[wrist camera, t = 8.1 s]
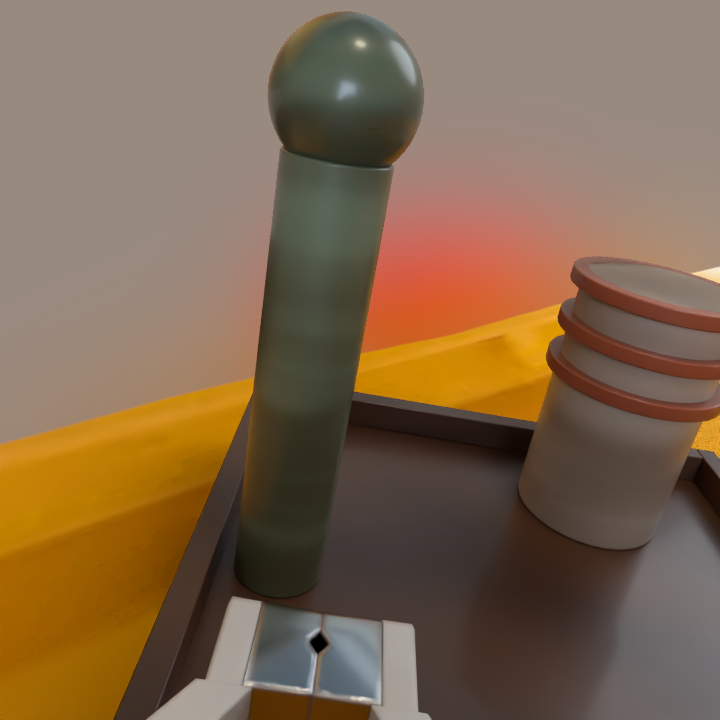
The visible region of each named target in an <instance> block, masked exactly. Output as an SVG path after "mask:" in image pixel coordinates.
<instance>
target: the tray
mask: <svg viewBox="0 0 720 720" xmlns="http://www.w3.org/2000/svg"><path fill="white" fill-rule="evenodd" d="M268 104H269V112H270V116H271V120H272V123H273V126H274V129H275V131H276V133H277V135H278V137H279V139H280V140H281V142H282V144H283V146H282V147H281V149H280V154H279V163H278V172H277V182H276V190H275V200H274V209H273V218H272V226H271V235H270V245H269V254H268V262H267V272H266V280H265V289H264V299H263V308H262V317H261V326H260V335H259V344H258V353H257V362H256V372H255V380H254V389H253V394H252V396H251V398H250V401H249V403H248V405H247V408H246V410H245V412H244V415H243V417H242V419H241V422H240V424H239V426H238V429H237V431H236V433H235V436H234V438H233V441H232V443H231V445H230V448H229V450H228V452H227V455H226V457H225V459H224V462H223V464H222V466H221V469H220V471H219V473H218V476H217V478H216V480H215V483H214V485H213V487H212V490H211V492H210V494H209V497H208V499H207V501H206V504H205V506H204V508H203V511H202V513H201V515H200V518H199V520H198V523H197V525H196V527H195V530H194V532H193V534H192V537H191V539H190V541H189V544H188V546H187V548H186V551H185V553H184V555H183V558H182V560H181V562H180V565H179V567H178V569H177V572H176V574H175V576H174V579H173V581H172V583H171V586H170V588H169V590H168V593H167V595H166V597H165V600H164V602H163V605H162V607H161V609H160V612H159V614H158V616H157V619H156V621H155V623H154V626H153V628H152V630H151V633H150V635H149V637H148V640H147V642H146V644H145V647H144V649H143V651H142V654H141V656H140V658H139V661H138V663H137V665H136V668H135V670H134V672H133V675H132V677H131V680H130V682H129V684H128V687H127V689H126V691H125V694H124V696H123V698H122V701H121V703H120V705H119V708H118V710H117V712H116V715H115V717H114V719H113V720H146V719H147V718H149V717H150V716H151V715H152V714H153V713H155V712H156V711H157V710H158V709H160V708H161V707H162V706H163V705H164V704H166V703H167V702H168V701H169V700H170V699H172V698H173V697H174V696H175V695H176V694H178V693H179V692H180V691H181V690H182V689H184V688H185V687H186V686H187V685H188V684H190V683H191V682H192V681H193V680H194V679H204V680H205V678H206V675H207V672H208V668H209V665H210V662H211V659H212V655H213V652H214V649H215V645H216V642H217V639H218V636H219V632H220V629H221V626H222V622H223V619H224V616H225V613H226V609H227V606H228V603H229V601H230V600H231V598H232V596H235V597H240V598H245V599H251V600H256V601H262V602H263V601H266V602H271V603H277V604H282V605H288V606H293V607H299V608H304V609H310V610H315V611H321V612H322V611H324V612H331V613H338V614H345V615H352V616H359V617H366V618H373V619H379V620H381V621H382V620H387V621H394V622H401V623H408V624H412V625H413V627H414V629H415V650H416V672H417V694H418V712H421V713H426V714H428V715H429V716H430V718H431V719H432V720H720V459H719V458H718V457H717V455H716V454H715V453H714V452H711V451H705V450H699V449H693V448H691V447H692V445H693V442H694V440H695V438H696V435H697V433H698V431H699V428H700V426H701V424H702V422H703V421H708V420H711V419H713V418H716V417H717V416H718V415H719V414H720V383H719V382H720V284H719V283H716V282H713V281H711V280H708V279H705V278H702V277H699V276H696V275H693V274H689V273H686V272H682V271H679V270H675V269H671V268H667V267H663V266H659V265H655V264H650V263H645V262H640V261H635V260H629V259H621V258H612V257H585V258H581V259H578V260H576V261H575V263H574V265H573V269H572V272H571V280H572V281H573V283H575V285H576V286H577V287H578V288H579V290H578V293H577V296H576V298H571V299H568V300H566V301H564V302H563V303H562V305H561V308H560V311H559V314H558V322H559V324H560V326H561V327H562V329H563V330H564V331H565V334H564V335H561V336H558V337H556V338H554V339H553V340H552V341H551V342H550V344H549V347H548V350H547V354H546V361H547V364H548V366H549V367H550V369H551V370H552V371H553V373H552V376H551V379H550V382H549V386H548V389H547V392H546V395H545V398H544V402H543V405H542V408H541V411H540V414H539V418H538V421H537V422H532V421H526V420H520V419H514V418H508V417H502V416H496V415H490V414H484V413H478V412H472V411H466V410H460V409H454V408H448V407H442V406H436V405H430V404H424V403H418V402H412V401H406V400H400V399H394V398H388V397H382V396H376V395H370V394H364V393H358V392H354V387H355V382H356V376H357V371H358V365H359V360H360V354H361V348H362V343H363V336H364V332H365V326H366V321H367V315H368V310H369V304H370V298H371V293H372V287H373V282H374V276H375V270H376V265H377V259H378V254H379V249H380V243H381V237H382V232H383V226H384V221H385V215H386V209H387V204H388V198H389V193H390V187H391V182H392V176H393V171H394V167H393V165H392V163H393V162H395V161H396V160H397V159H398V158H399V157H400V156H401V155H402V154H403V153H404V152H405V150H406V149H407V148H408V146H409V145H410V143H411V142H412V140H413V138H414V136H415V134H416V132H417V129H418V127H419V124H420V121H421V117H422V113H423V104H424V88H423V80H422V76H421V72H420V68H419V66H418V63H417V60H416V58H415V56H414V55H413V52H412V51H411V49H410V48H409V46H408V45H407V44H406V42H405V41H404V39H403V38H402V37H401V36H400V35H399V34H398V33H397V32H396V31H394V30H393V29H392V28H391V27H390V26H389V25H387V24H385V23H384V22H382V21H380V20H379V19H376V18H374V17H371V16H369V15H366V14H361V13H356V12H334V13H329V14H325V15H322V16H319V17H316V18H314V19H313V20H311V21H309V22H307V23H305V24H304V25H303V26H301V27H300V28H298V29H297V30H296V31H295V32H294V33H293V34H292V35H291V36H290V37H289V38H288V39H287V41H286V42H285V43H284V45H283V46H282V48H281V49H280V51H279V53H278V54H277V57H276V59H275V61H274V64H273V66H272V70H271V73H270V78H269V84H268Z"/></svg>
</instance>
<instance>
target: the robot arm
mask: <svg viewBox="0 0 720 720" xmlns="http://www.w3.org/2000/svg"><path fill="white" fill-rule="evenodd" d="M146 720H432V719H431V718H430V716H429V715H428V714H426V713H421V712H418V694H417V672H416V650H415V629H414V627H413V625H412V624H408V623H401V622H394V621H387V620H382V621H381V620H379V619H373V618H366V617H359V616H352V615H345V614H338V613H331V612H324V611H322V612H321V611H315V610H310V609H304V608H299V607H293V606H288V605H282V604H277V603H271V602H266V601H263V602H262V601H256V600H251V599H245V598H240V597H235V596H232V598H231V600H230V601H229V603H228V606H227V609H226V613H225V616H224V619H223V622H222V626H221V629H220V632H219V636H218V639H217V642H216V645H215V649H214V652H213V655H212V659H211V662H210V665H209V668H208V672H207V675H206V678H205V680H204V679H194V680H193V681H192V682H191V683H190V684H188V685H187V686H186V687H185V688H184V689H182V690H181V691H180V692H179V693H178V694H176V695H175V696H174V697H173V698H172V699H170V700H169V701H168V702H167V703H166V704H164V705H163V706H162V707H161V708H160V709H158V710H157V711H156V712H155V713H153V714H152V715H151V716H150V717H149V718H147V719H146Z"/></svg>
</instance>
